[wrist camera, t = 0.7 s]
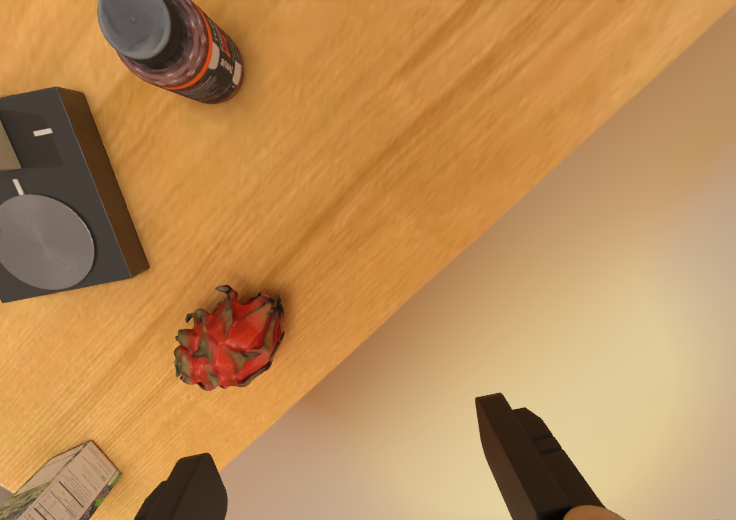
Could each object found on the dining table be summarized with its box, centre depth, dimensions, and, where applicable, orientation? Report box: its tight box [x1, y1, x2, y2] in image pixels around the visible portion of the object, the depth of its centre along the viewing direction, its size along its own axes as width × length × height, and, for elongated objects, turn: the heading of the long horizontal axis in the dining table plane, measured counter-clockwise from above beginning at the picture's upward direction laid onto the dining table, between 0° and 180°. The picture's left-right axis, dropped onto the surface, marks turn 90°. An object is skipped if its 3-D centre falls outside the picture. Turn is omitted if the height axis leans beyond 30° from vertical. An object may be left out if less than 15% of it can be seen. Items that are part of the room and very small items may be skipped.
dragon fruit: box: [174, 285, 284, 391], centre depth 34 cm, size 8×8×12 cm
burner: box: [0, 194, 96, 290], centre depth 32 cm, size 8×8×1 cm
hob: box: [0, 87, 149, 303], centre depth 32 cm, size 17×12×3 cm
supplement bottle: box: [97, 0, 243, 104], centre depth 26 cm, size 6×6×11 cm
